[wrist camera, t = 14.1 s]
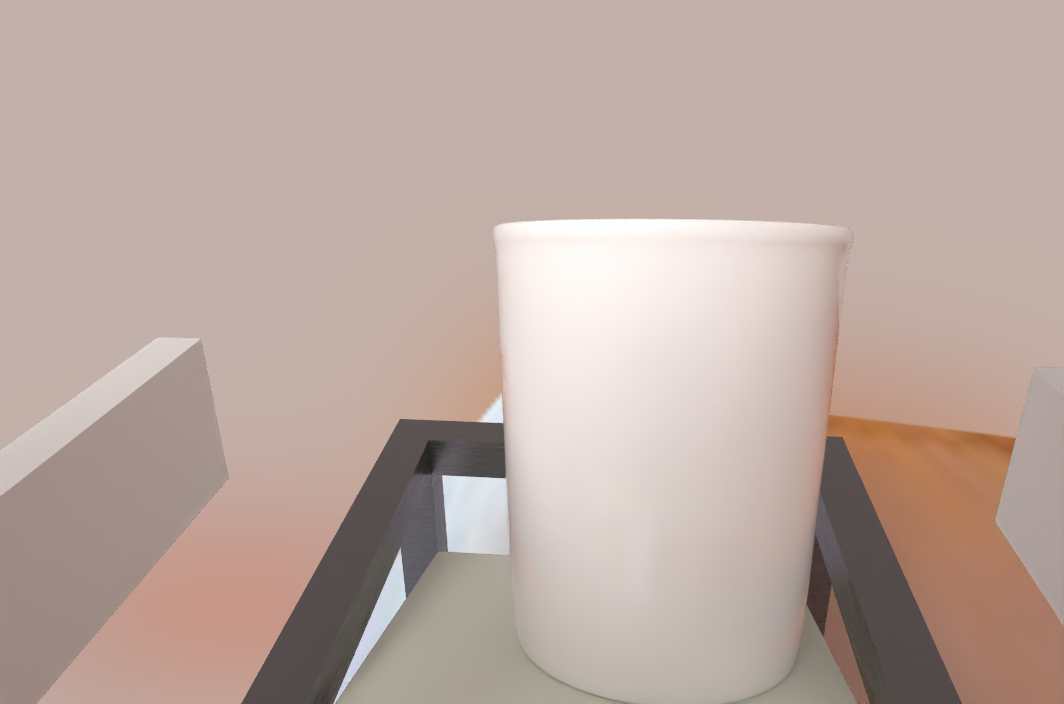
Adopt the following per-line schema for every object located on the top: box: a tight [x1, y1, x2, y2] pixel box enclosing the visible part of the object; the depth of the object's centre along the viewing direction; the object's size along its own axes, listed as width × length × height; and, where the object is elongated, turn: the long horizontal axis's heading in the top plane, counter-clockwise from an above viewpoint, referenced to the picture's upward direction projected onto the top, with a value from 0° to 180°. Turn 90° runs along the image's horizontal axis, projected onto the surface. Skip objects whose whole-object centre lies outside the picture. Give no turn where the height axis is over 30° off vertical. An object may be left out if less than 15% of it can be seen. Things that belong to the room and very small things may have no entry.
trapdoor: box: [335, 551, 857, 704], centre depth 23 cm, size 13×14×1 cm
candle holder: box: [492, 219, 853, 704], centre depth 24 cm, size 10×10×12 cm
